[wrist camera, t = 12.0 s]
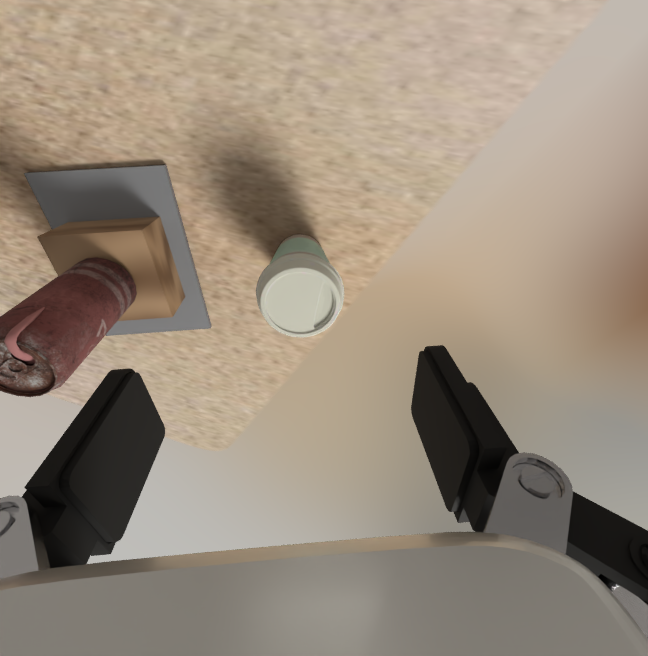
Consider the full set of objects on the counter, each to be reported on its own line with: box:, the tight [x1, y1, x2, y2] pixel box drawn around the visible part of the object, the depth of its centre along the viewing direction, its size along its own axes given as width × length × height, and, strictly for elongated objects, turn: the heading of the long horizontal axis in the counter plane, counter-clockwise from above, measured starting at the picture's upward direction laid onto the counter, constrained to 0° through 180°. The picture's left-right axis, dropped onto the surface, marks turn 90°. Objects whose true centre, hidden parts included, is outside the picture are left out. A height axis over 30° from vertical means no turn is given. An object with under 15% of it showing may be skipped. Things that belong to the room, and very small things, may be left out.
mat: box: [24, 165, 211, 336], centre depth 39 cm, size 20×14×1 cm
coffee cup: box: [256, 234, 344, 337], centre depth 35 cm, size 8×9×12 cm
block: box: [38, 217, 185, 321], centre depth 37 cm, size 10×10×5 cm
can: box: [0, 257, 137, 397], centre depth 29 cm, size 6×6×14 cm
